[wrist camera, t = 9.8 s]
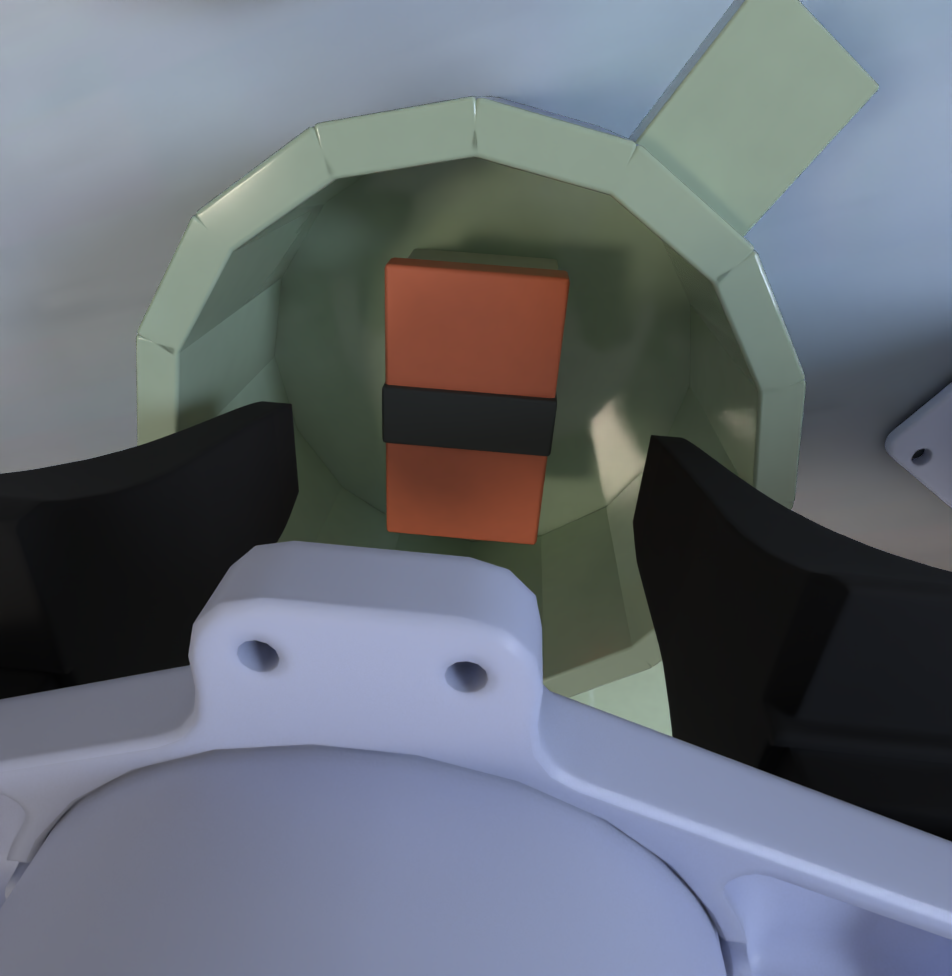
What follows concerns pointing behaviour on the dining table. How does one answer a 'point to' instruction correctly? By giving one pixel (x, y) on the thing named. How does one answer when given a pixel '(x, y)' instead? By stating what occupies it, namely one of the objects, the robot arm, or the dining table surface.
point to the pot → (589, 316)
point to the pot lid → (634, 699)
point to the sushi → (470, 391)
